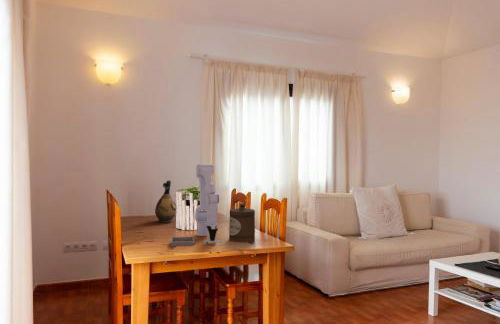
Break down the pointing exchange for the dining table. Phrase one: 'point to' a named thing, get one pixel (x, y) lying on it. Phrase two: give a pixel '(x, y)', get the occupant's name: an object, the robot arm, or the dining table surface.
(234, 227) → the wooden container
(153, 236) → the dining table surface
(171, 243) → the bin
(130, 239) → the dining table surface
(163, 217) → the ceramic jug
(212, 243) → the stud block
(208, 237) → the block
